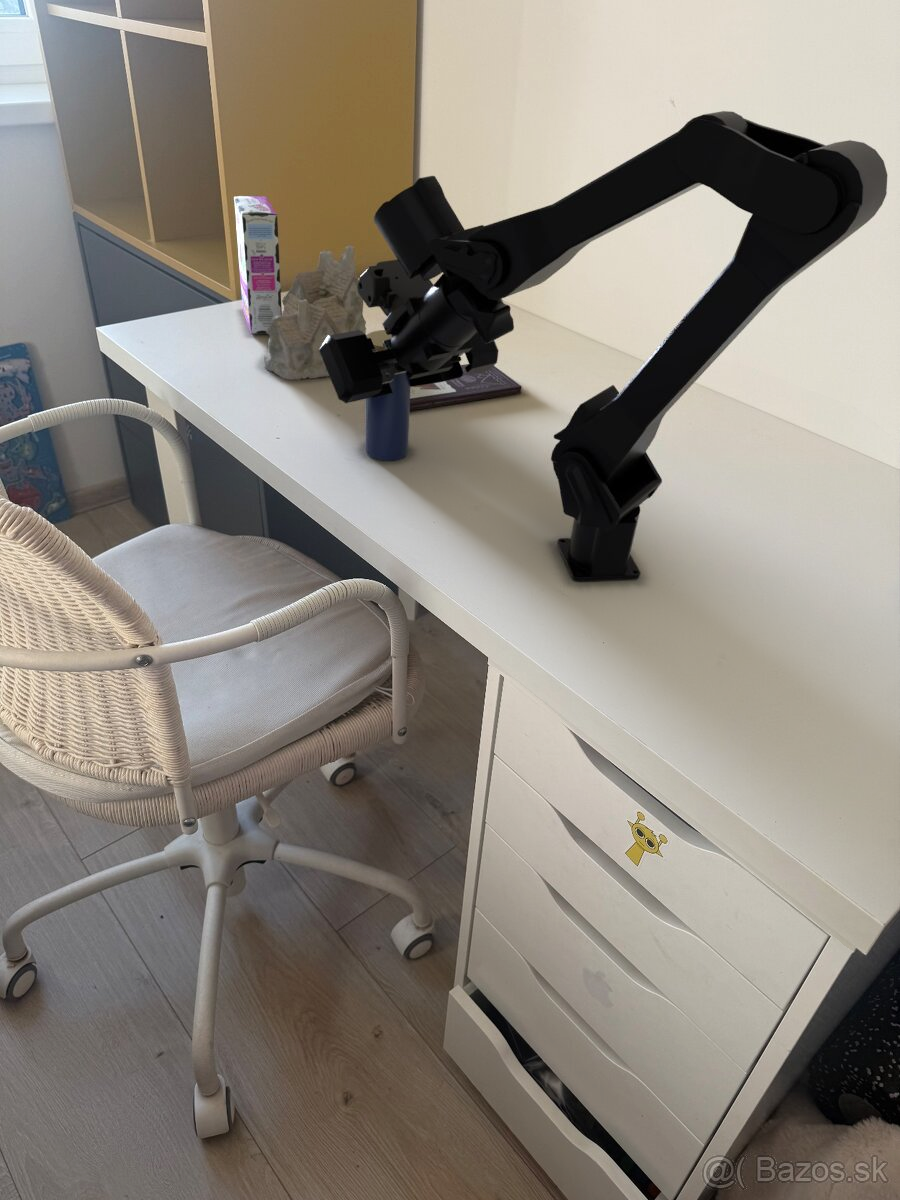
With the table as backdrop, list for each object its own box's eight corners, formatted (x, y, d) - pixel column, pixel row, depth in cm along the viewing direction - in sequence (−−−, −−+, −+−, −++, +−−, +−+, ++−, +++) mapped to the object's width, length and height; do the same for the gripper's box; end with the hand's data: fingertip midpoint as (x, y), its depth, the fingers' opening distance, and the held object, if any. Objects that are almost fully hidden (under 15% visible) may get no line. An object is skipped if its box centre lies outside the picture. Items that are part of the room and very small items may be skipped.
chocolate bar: (521, 386, 108) (396, 405, 101) (520, 393, 109) (395, 412, 102) (488, 361, 115) (367, 377, 107) (487, 367, 115) (367, 384, 108)
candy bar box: (285, 334, 121) (278, 213, 111) (250, 335, 120) (240, 213, 110) (274, 309, 129) (267, 194, 119) (242, 310, 128) (231, 194, 118)
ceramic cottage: (333, 325, 124) (326, 220, 114) (390, 368, 114) (388, 257, 104) (235, 348, 117) (219, 238, 107) (286, 396, 107) (274, 279, 97)
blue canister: (411, 461, 92) (415, 347, 84) (366, 461, 92) (366, 347, 84) (406, 440, 96) (410, 330, 88) (363, 441, 95) (363, 329, 88)
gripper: (492, 228, 82) (423, 307, 95) (326, 249, 72) (276, 333, 86) (534, 333, 82) (459, 397, 95) (373, 366, 72) (316, 432, 86)
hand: (381, 388), depth 91 cm, fingers closed on blue canister, 5 cm apart
